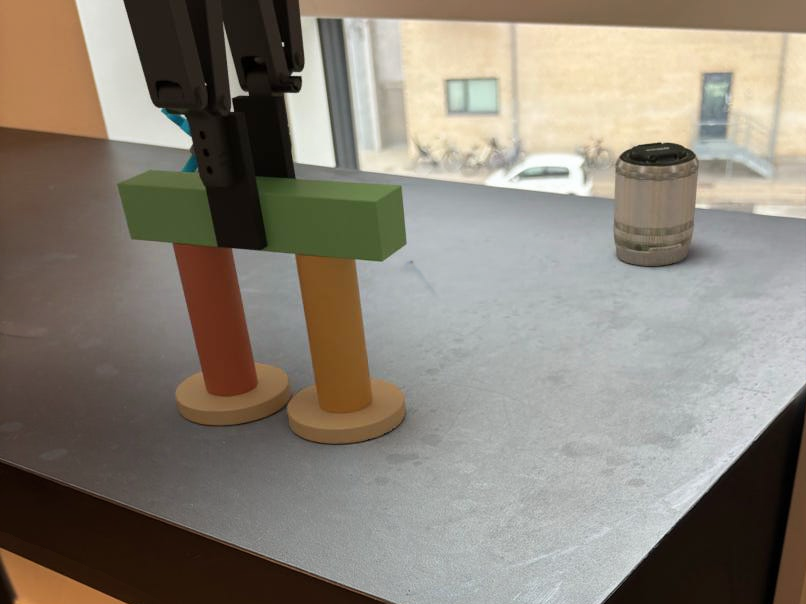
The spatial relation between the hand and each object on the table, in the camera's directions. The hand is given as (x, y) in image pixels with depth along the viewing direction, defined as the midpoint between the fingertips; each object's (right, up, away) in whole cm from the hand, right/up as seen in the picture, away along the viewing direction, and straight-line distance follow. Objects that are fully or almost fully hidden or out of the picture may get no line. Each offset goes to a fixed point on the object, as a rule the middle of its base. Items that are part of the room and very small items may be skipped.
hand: (261, 235), depth 56 cm
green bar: (0, 0, 0) cm, 0 cm away
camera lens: (+26, +8, +26) cm, 37 cm away
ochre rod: (+4, -9, +5) cm, 11 cm away
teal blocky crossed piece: (-16, +26, +50) cm, 59 cm away
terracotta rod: (-3, -7, +8) cm, 11 cm away
